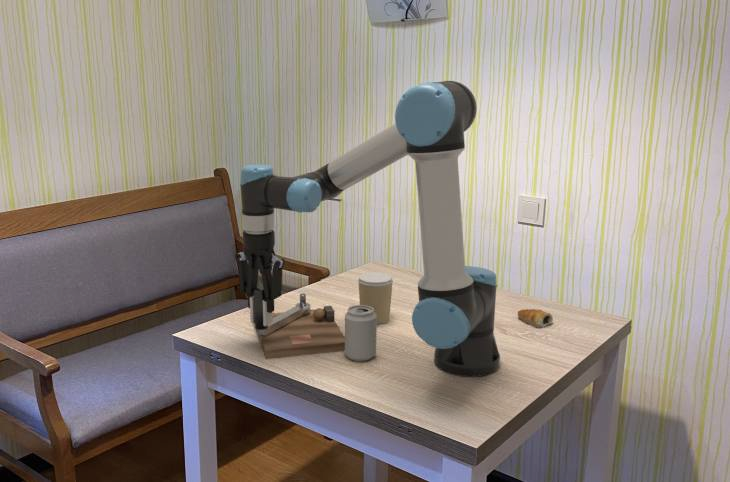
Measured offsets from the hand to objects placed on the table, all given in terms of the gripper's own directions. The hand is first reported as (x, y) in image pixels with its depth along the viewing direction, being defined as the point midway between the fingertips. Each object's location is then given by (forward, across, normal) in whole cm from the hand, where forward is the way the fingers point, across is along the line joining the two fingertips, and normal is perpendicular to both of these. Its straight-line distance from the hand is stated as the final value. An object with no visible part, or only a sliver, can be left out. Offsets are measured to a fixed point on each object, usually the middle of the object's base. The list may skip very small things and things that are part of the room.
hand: (261, 322), depth 175 cm
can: (+6, -25, -6) cm, 26 cm away
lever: (+3, 0, -9) cm, 10 cm away
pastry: (+6, -55, -48) cm, 73 cm away
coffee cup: (+6, -16, -28) cm, 33 cm away
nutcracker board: (+6, -5, -9) cm, 11 cm away
